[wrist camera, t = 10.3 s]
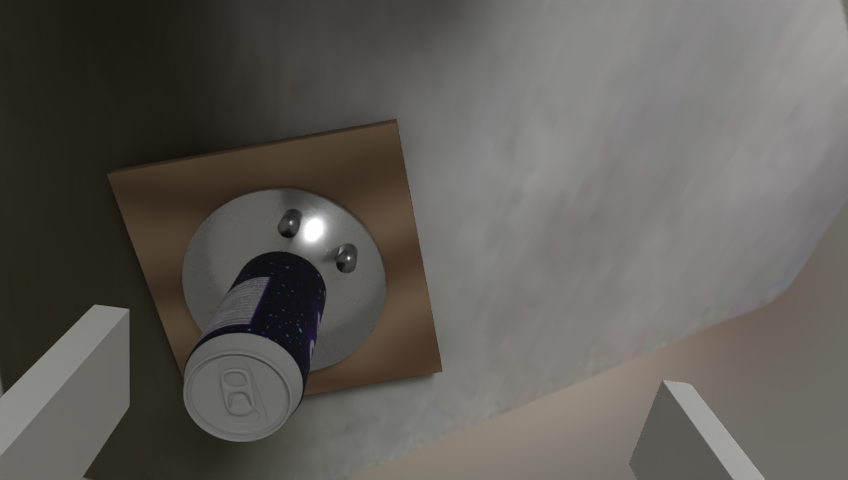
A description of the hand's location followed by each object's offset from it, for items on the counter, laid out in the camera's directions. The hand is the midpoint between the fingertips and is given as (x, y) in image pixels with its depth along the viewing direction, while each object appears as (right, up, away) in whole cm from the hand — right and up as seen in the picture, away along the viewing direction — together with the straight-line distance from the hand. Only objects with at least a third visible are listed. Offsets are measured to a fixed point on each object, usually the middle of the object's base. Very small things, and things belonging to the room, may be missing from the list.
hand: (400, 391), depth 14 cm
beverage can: (-9, +1, +23) cm, 25 cm away
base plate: (-9, +2, +26) cm, 27 cm away
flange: (-8, +1, +24) cm, 26 cm away
